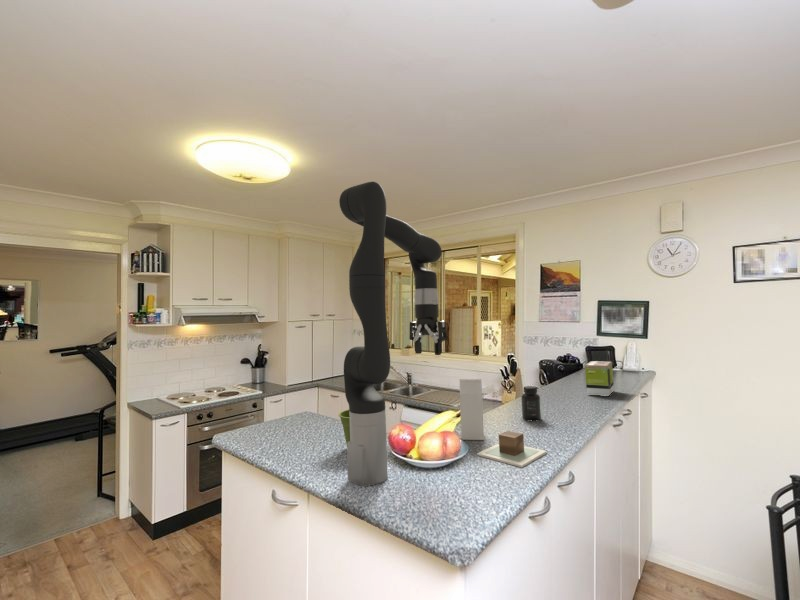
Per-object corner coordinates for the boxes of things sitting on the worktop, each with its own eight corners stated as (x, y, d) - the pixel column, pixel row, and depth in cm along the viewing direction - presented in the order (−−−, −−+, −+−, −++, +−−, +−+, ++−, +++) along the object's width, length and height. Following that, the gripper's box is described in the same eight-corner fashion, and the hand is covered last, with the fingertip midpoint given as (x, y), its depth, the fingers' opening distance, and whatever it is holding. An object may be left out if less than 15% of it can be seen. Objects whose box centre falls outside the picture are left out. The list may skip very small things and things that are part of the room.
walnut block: (515, 456, 110) (514, 437, 111) (499, 452, 114) (498, 434, 114) (524, 451, 114) (523, 433, 114) (508, 447, 117) (507, 430, 118)
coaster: (521, 467, 104) (521, 464, 104) (477, 455, 114) (477, 452, 114) (546, 453, 114) (546, 450, 114) (503, 443, 124) (503, 440, 124)
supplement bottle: (545, 419, 149) (543, 387, 150) (533, 422, 146) (532, 389, 146) (530, 415, 155) (528, 384, 155) (518, 418, 151) (517, 387, 152)
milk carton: (483, 440, 127) (481, 381, 128) (461, 440, 128) (459, 381, 129) (483, 434, 134) (481, 377, 135) (462, 433, 135) (460, 377, 136)
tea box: (592, 390, 200) (590, 360, 201) (614, 391, 194) (612, 361, 195) (586, 395, 188) (584, 364, 189) (609, 397, 182) (608, 365, 183)
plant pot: (343, 443, 129) (342, 408, 130) (379, 442, 129) (378, 407, 130) (336, 456, 118) (335, 417, 118) (376, 455, 117) (374, 416, 118)
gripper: (402, 304, 130) (404, 354, 129) (434, 302, 119) (436, 356, 118) (419, 304, 135) (420, 352, 134) (451, 302, 124) (453, 354, 123)
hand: (428, 354), depth 126 cm, fingers open, 8 cm apart
